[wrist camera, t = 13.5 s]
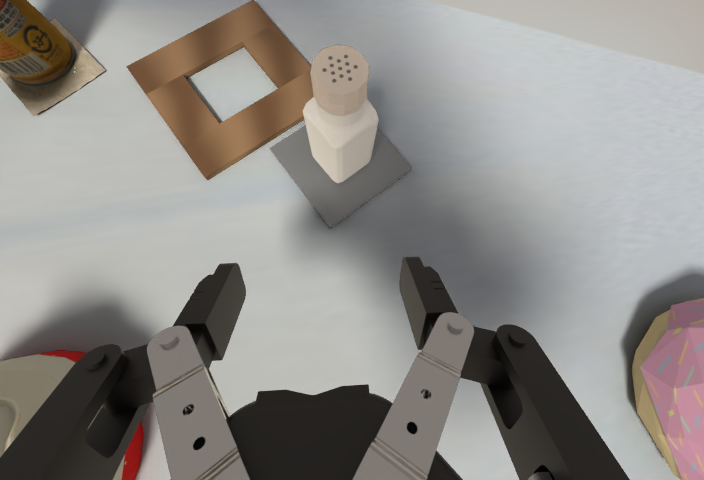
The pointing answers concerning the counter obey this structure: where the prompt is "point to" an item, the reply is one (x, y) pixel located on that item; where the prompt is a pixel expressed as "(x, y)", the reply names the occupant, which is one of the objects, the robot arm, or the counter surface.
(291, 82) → the square wooden frame
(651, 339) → the donut
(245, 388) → the counter surface
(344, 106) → the salt shaker
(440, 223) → the counter surface
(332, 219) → the coaster
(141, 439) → the pompom beanie hat
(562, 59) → the counter surface
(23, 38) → the condiment
